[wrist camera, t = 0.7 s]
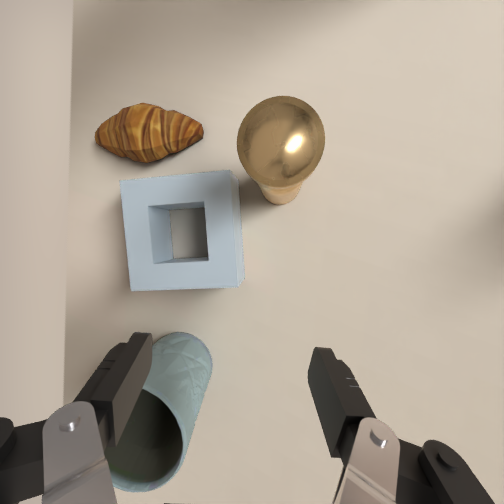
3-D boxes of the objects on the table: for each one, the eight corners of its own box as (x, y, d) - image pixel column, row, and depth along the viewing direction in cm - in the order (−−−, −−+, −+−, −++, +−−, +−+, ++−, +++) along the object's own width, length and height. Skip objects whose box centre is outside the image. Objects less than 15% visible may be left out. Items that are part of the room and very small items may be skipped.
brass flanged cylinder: (256, 164, 29) (234, 102, 15) (302, 159, 28) (323, 90, 14) (259, 209, 29) (239, 190, 16) (304, 206, 29) (326, 182, 15)
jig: (145, 188, 31) (119, 180, 26) (238, 180, 29) (229, 169, 24) (154, 281, 32) (130, 291, 27) (244, 278, 30) (237, 287, 25)
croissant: (107, 171, 32) (74, 159, 27) (102, 116, 31) (68, 95, 26) (207, 163, 30) (193, 150, 25) (205, 106, 29) (189, 81, 24)
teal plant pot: (136, 338, 33) (54, 399, 21) (204, 315, 31) (157, 366, 19) (163, 407, 33) (98, 505, 21) (231, 387, 32) (202, 480, 20)
